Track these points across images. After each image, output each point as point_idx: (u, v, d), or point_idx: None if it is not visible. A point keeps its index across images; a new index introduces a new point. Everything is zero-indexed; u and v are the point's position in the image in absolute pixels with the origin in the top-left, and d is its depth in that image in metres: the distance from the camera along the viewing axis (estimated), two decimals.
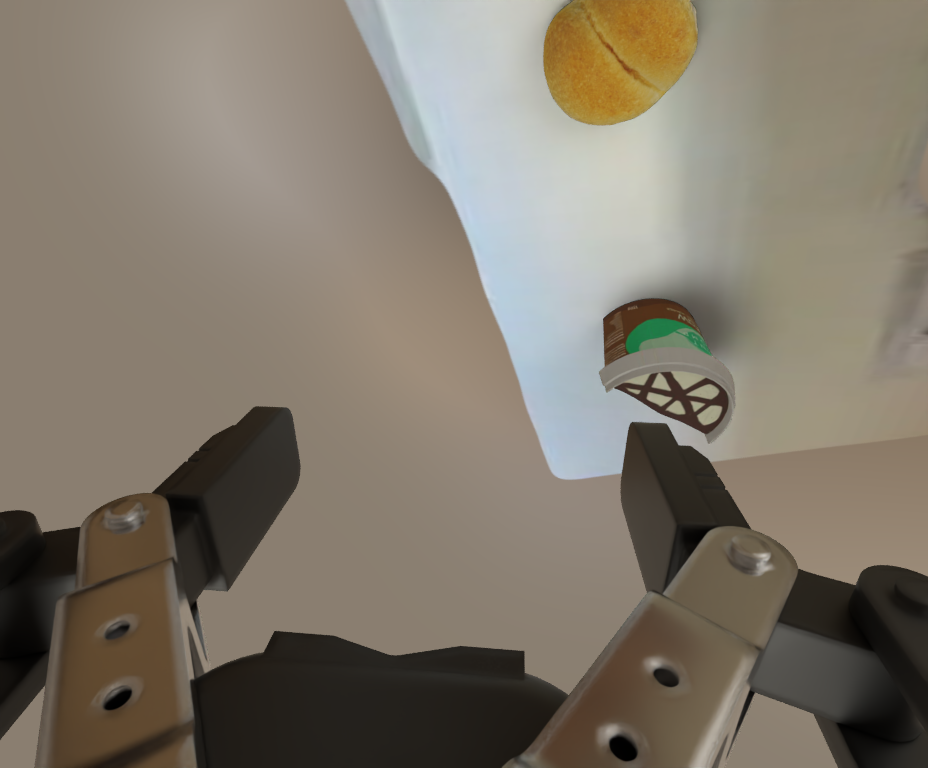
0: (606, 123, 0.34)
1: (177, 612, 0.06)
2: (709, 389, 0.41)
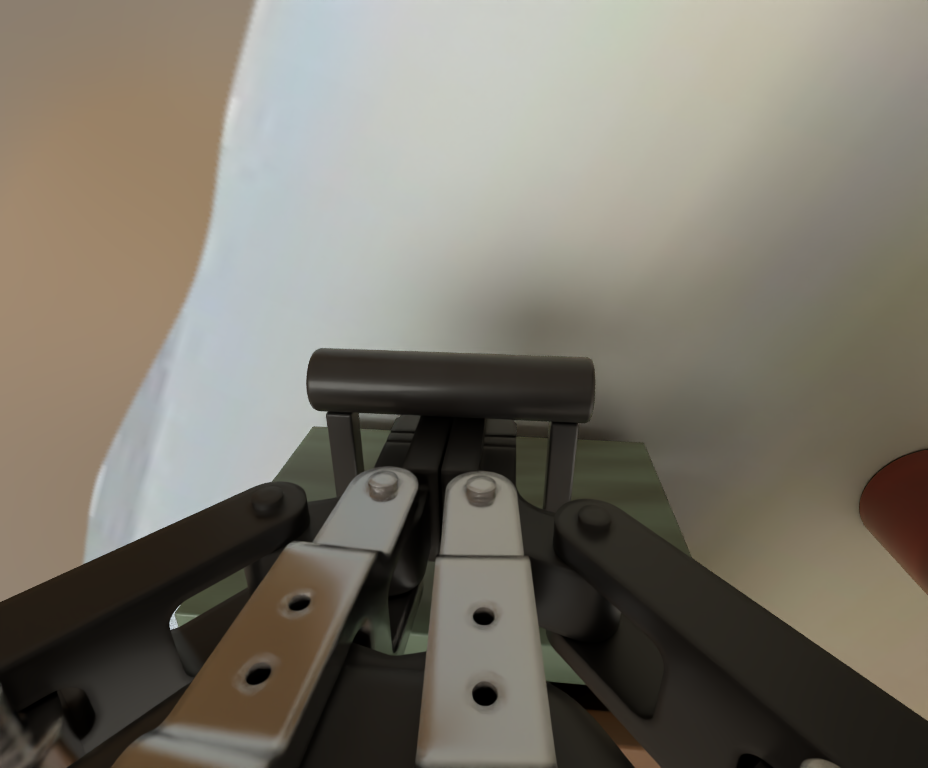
0: None
1: (343, 616, 0.06)
2: None
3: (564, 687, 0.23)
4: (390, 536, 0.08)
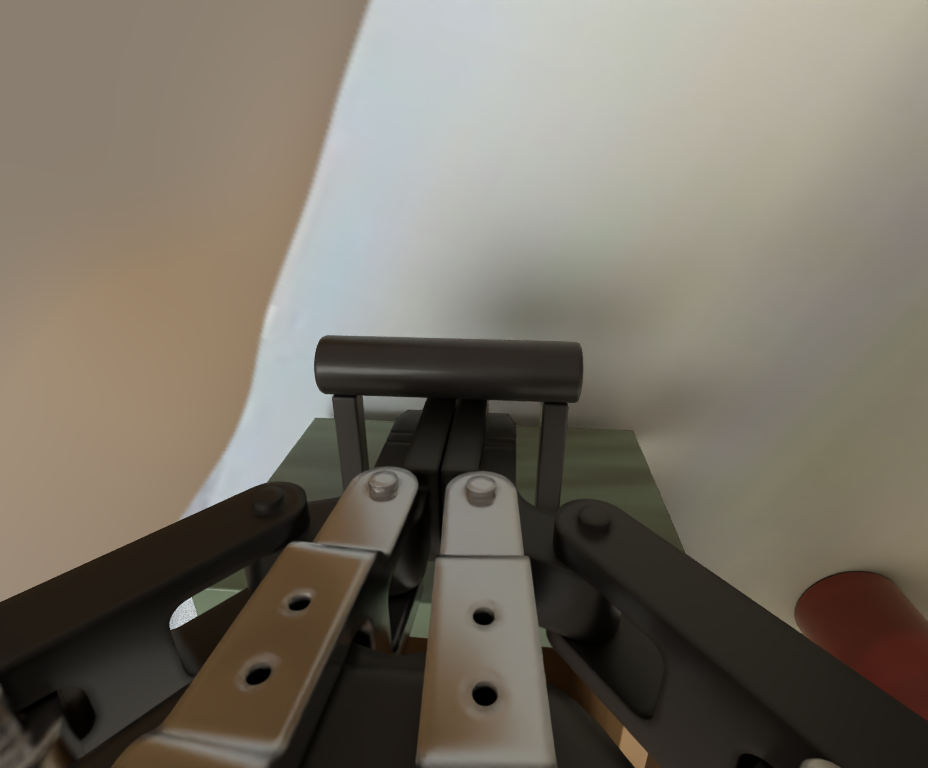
0: None
1: (343, 616, 0.06)
2: None
3: (559, 670, 0.24)
4: (390, 536, 0.08)
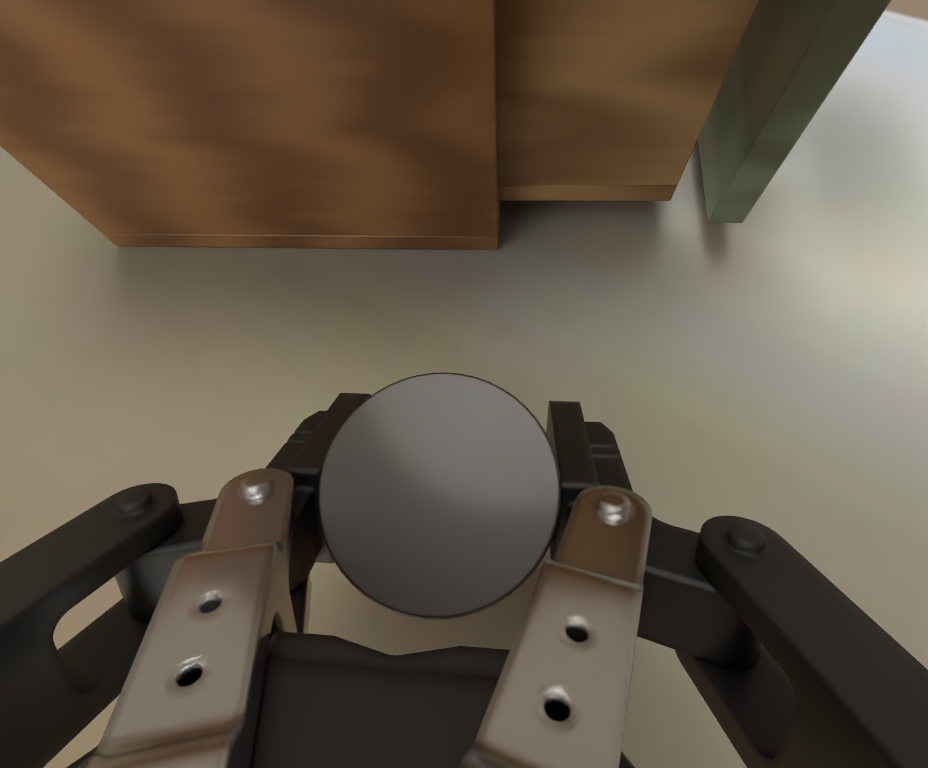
0: None
1: (262, 602, 0.06)
2: None
3: None
4: (279, 530, 0.08)
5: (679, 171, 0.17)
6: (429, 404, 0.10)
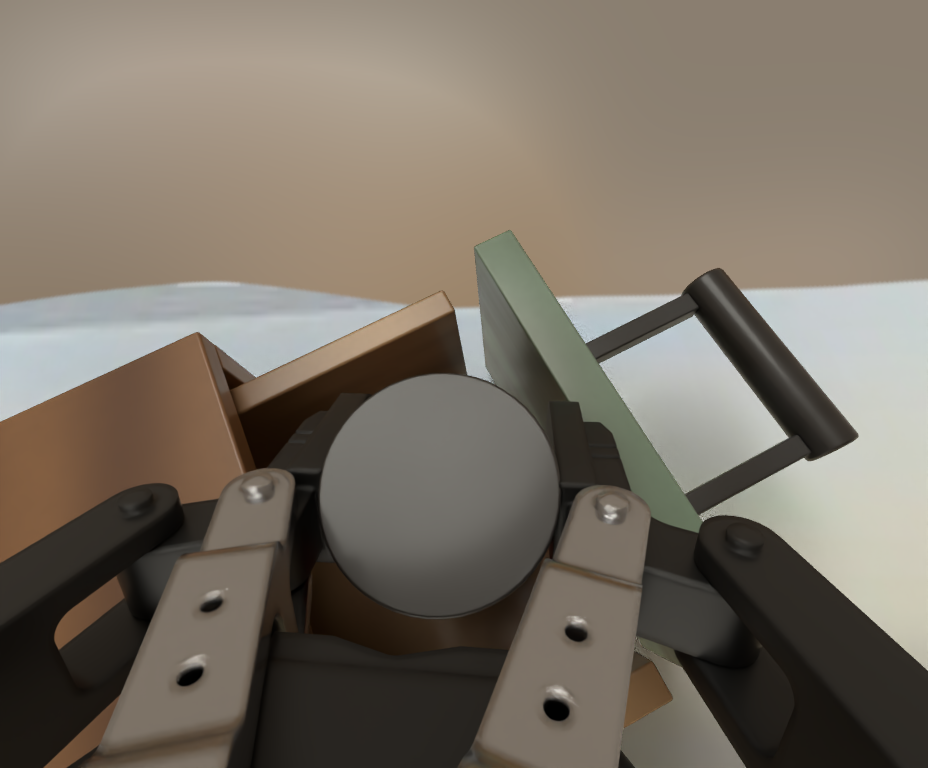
0: None
1: (263, 602, 0.06)
2: None
3: None
4: (281, 530, 0.08)
5: None
6: (429, 404, 0.10)
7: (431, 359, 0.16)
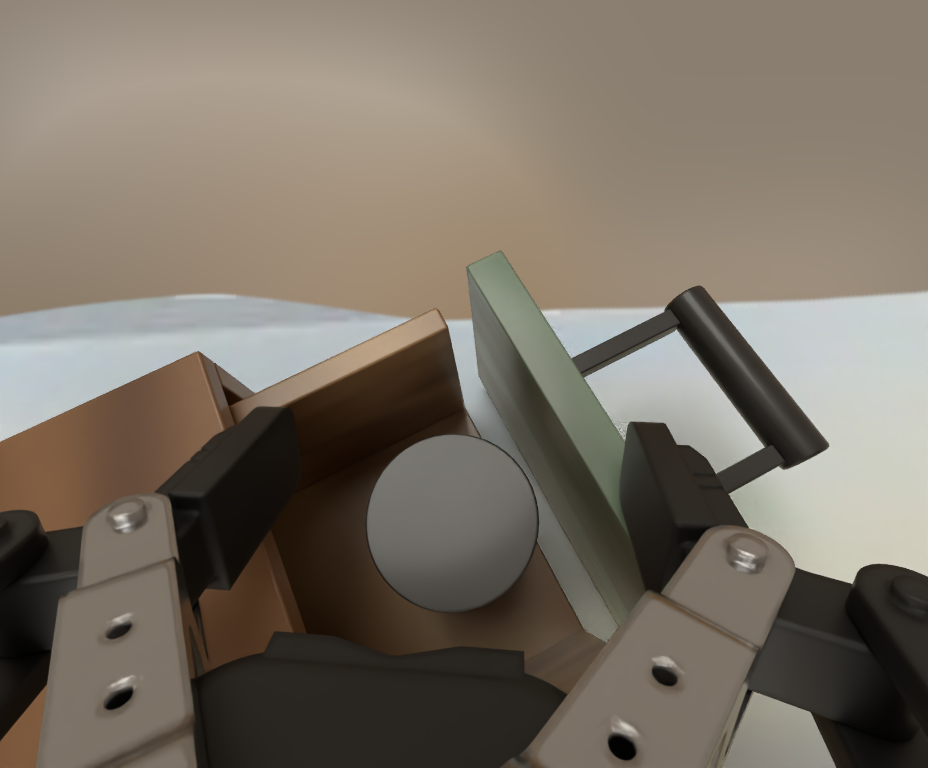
0: None
1: (179, 612, 0.06)
2: None
3: None
4: (169, 549, 0.07)
5: None
6: (444, 457, 0.13)
7: (426, 372, 0.17)
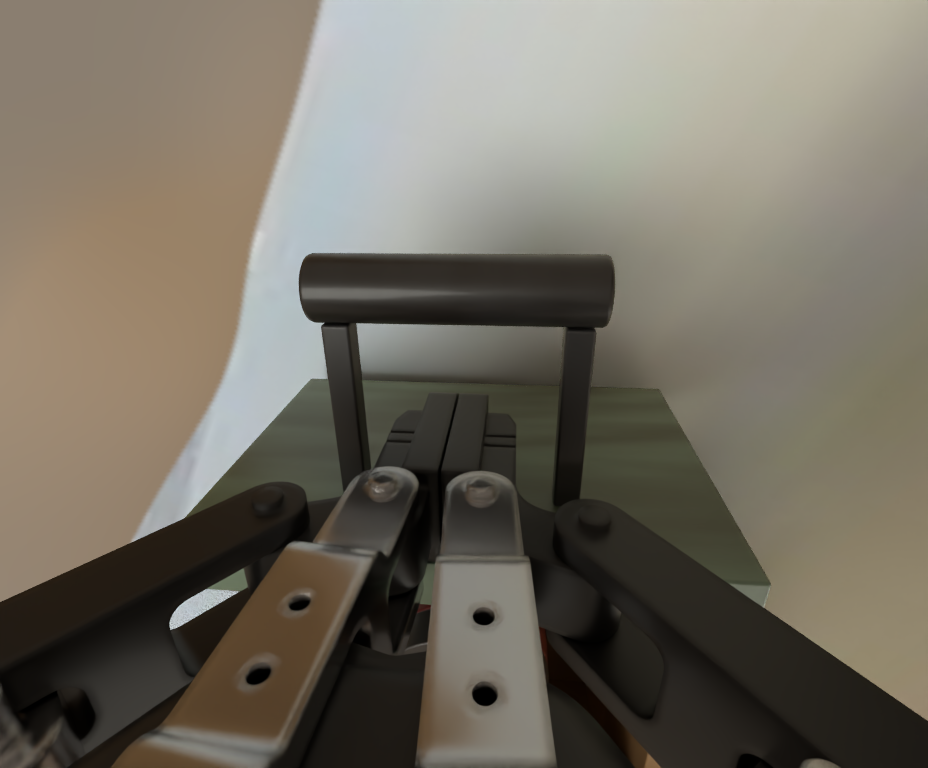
0: None
1: (343, 616, 0.06)
2: None
3: None
4: (390, 536, 0.08)
5: None
6: None
7: None
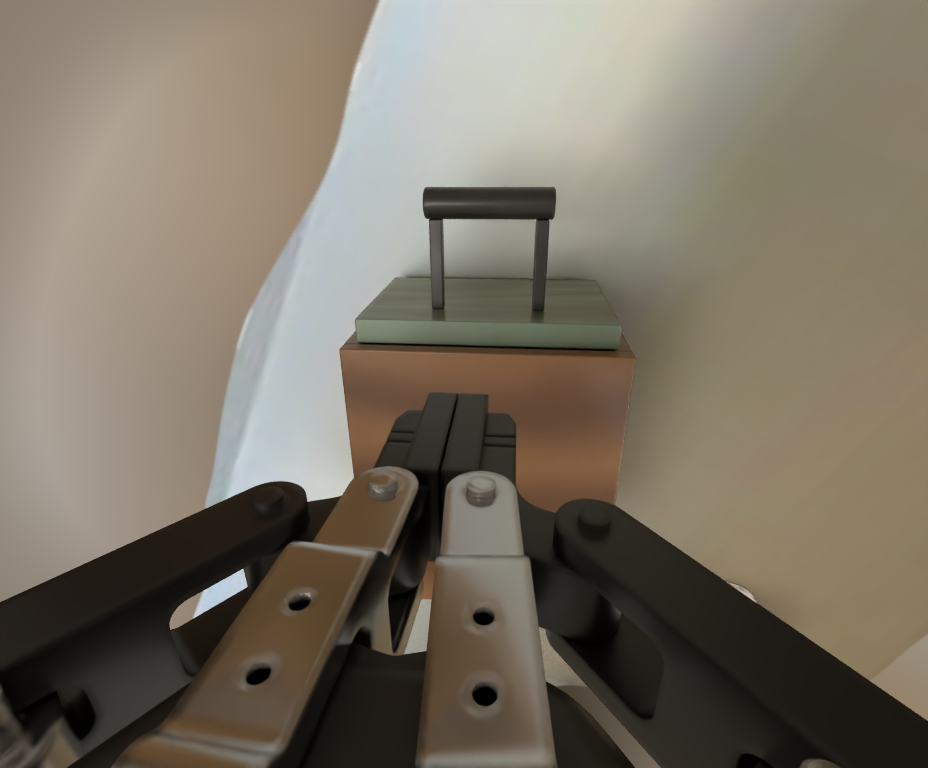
0: None
1: (343, 616, 0.06)
2: None
3: None
4: (390, 536, 0.08)
5: None
6: None
7: None
